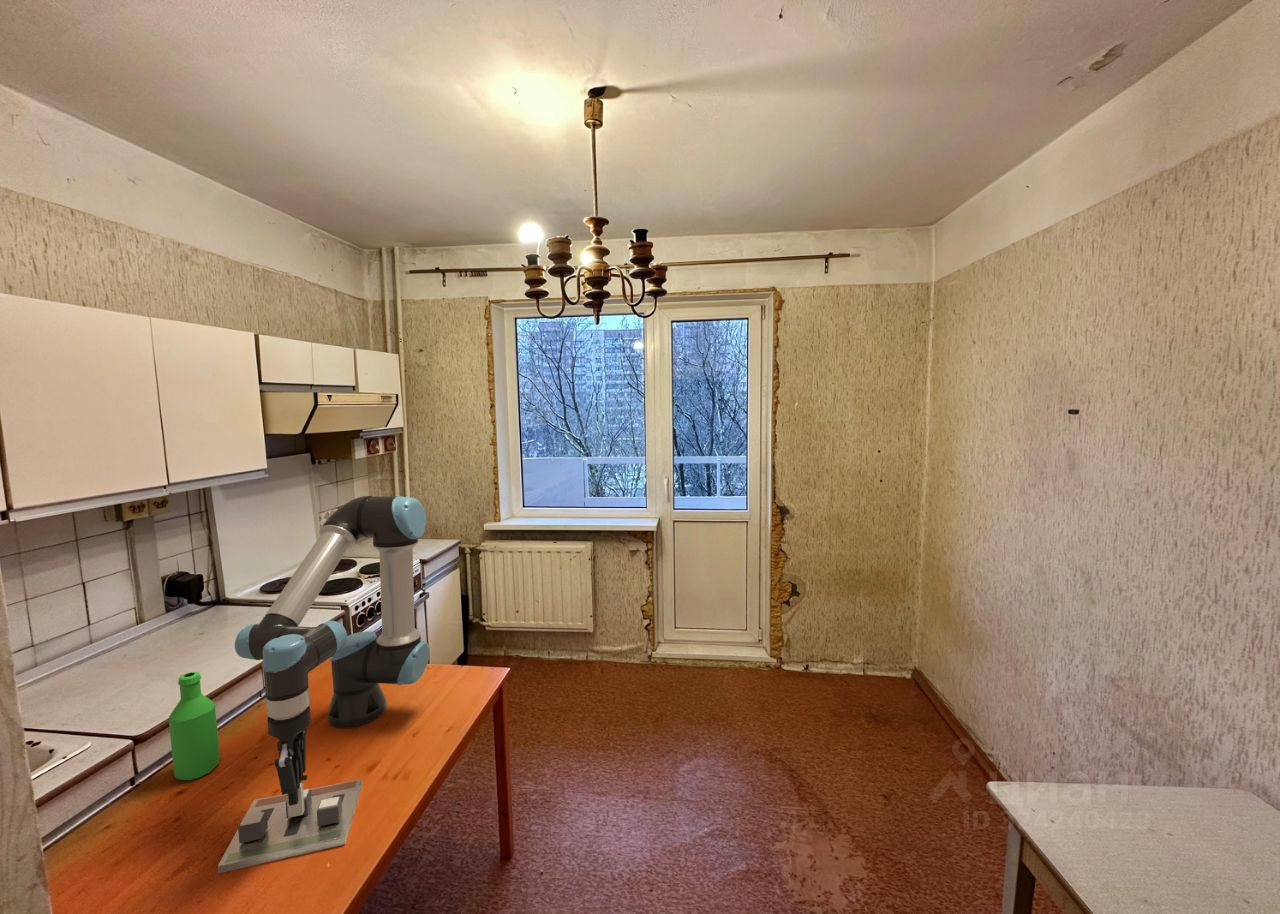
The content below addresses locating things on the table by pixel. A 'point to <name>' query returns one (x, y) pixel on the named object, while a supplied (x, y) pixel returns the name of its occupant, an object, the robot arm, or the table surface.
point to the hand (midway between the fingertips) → (296, 813)
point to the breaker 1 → (252, 827)
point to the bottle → (193, 731)
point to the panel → (293, 828)
